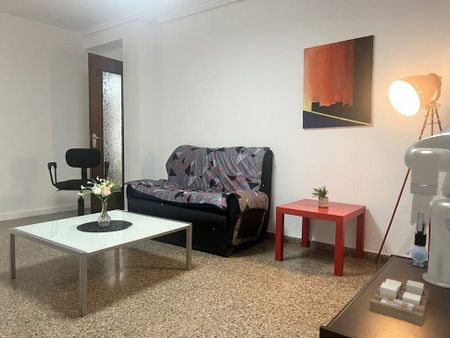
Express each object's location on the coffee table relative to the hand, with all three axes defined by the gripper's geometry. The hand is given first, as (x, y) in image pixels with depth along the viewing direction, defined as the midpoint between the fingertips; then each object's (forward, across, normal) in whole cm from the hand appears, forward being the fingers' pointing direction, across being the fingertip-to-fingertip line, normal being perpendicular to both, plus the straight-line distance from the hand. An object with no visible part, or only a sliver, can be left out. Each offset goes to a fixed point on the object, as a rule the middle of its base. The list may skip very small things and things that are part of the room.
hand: (420, 245), depth 109 cm
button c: (+16, +7, -7) cm, 19 cm away
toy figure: (+22, -40, -3) cm, 46 cm away
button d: (+17, +7, -1) cm, 19 cm away
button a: (+18, -1, -7) cm, 19 cm away
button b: (+17, -1, -1) cm, 17 cm away
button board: (+19, +5, -4) cm, 20 cm away
